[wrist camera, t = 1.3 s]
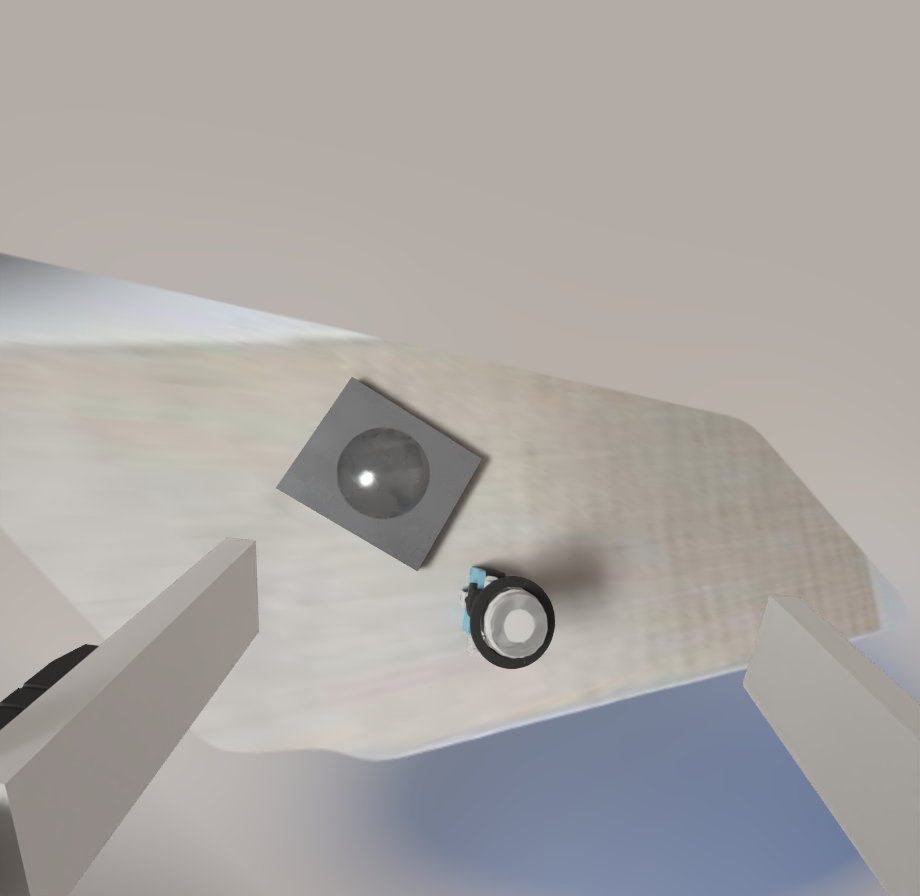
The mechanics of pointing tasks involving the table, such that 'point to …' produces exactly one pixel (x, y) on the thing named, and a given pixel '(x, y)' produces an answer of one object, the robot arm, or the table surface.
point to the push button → (506, 618)
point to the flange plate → (381, 474)
